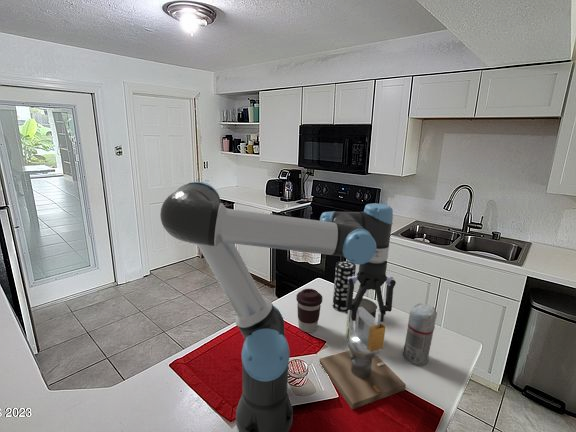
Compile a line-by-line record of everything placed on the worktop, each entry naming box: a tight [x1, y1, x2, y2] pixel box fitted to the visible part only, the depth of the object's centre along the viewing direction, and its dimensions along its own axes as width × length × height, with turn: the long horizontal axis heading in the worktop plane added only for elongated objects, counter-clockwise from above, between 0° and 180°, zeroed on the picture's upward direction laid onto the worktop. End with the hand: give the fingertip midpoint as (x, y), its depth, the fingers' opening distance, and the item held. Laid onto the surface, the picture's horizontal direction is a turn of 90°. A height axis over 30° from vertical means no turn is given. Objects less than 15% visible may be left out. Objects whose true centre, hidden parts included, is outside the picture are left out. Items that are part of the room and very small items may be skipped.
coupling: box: [348, 307, 387, 359], centre depth 96 cm, size 12×9×11 cm
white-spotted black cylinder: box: [332, 260, 357, 313], centre depth 137 cm, size 8×8×20 cm
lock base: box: [318, 349, 407, 410], centre depth 99 cm, size 19×19×10 cm
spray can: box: [402, 302, 438, 367], centre depth 106 cm, size 8×8×20 cm
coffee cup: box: [295, 288, 323, 333], centre depth 122 cm, size 10×10×15 cm
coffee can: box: [344, 297, 378, 343], centre depth 117 cm, size 10×10×14 cm
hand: (365, 329), depth 95 cm, fingers closed on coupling, 6 cm apart
